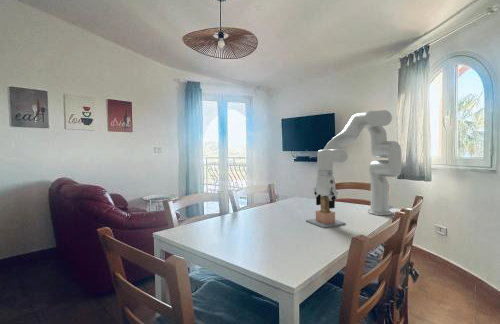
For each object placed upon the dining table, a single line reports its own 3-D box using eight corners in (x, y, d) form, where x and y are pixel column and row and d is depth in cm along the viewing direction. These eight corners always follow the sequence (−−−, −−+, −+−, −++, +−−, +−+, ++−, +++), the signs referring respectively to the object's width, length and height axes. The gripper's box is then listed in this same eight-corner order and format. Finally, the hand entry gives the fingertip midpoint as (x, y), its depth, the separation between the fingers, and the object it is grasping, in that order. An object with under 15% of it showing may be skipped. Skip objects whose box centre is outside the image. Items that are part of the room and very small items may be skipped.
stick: (325, 218, 138) (325, 195, 138) (329, 219, 135) (329, 196, 135) (320, 219, 137) (320, 196, 136) (324, 220, 134) (324, 197, 133)
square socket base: (326, 218, 145) (326, 207, 145) (345, 224, 133) (345, 212, 133) (305, 221, 139) (305, 210, 139) (323, 228, 127) (323, 215, 127)
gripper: (343, 174, 129) (343, 208, 130) (319, 172, 145) (319, 203, 145) (331, 175, 126) (331, 210, 126) (308, 172, 141) (308, 204, 142)
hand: (325, 206), depth 136 cm, fingers open, 9 cm apart
